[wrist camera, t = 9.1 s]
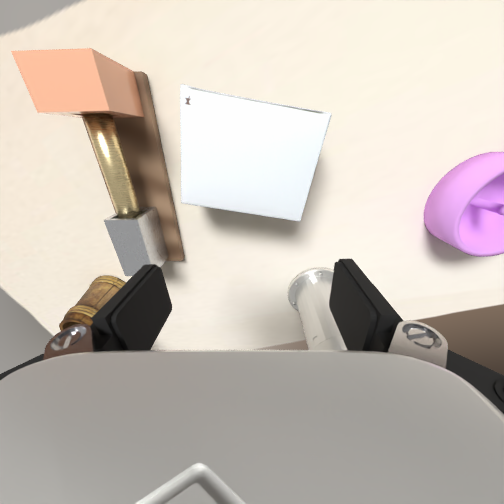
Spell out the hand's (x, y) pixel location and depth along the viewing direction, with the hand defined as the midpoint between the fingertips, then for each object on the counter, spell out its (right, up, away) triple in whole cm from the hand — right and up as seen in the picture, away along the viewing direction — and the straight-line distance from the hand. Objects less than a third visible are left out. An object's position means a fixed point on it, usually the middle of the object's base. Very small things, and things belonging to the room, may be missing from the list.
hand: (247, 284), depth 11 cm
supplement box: (0, +17, +22) cm, 28 cm away
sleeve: (-19, +5, +27) cm, 33 cm away
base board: (-19, +13, +24) cm, 34 cm away
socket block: (-19, +23, +17) cm, 35 cm away
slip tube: (-19, +13, +20) cm, 31 cm away
